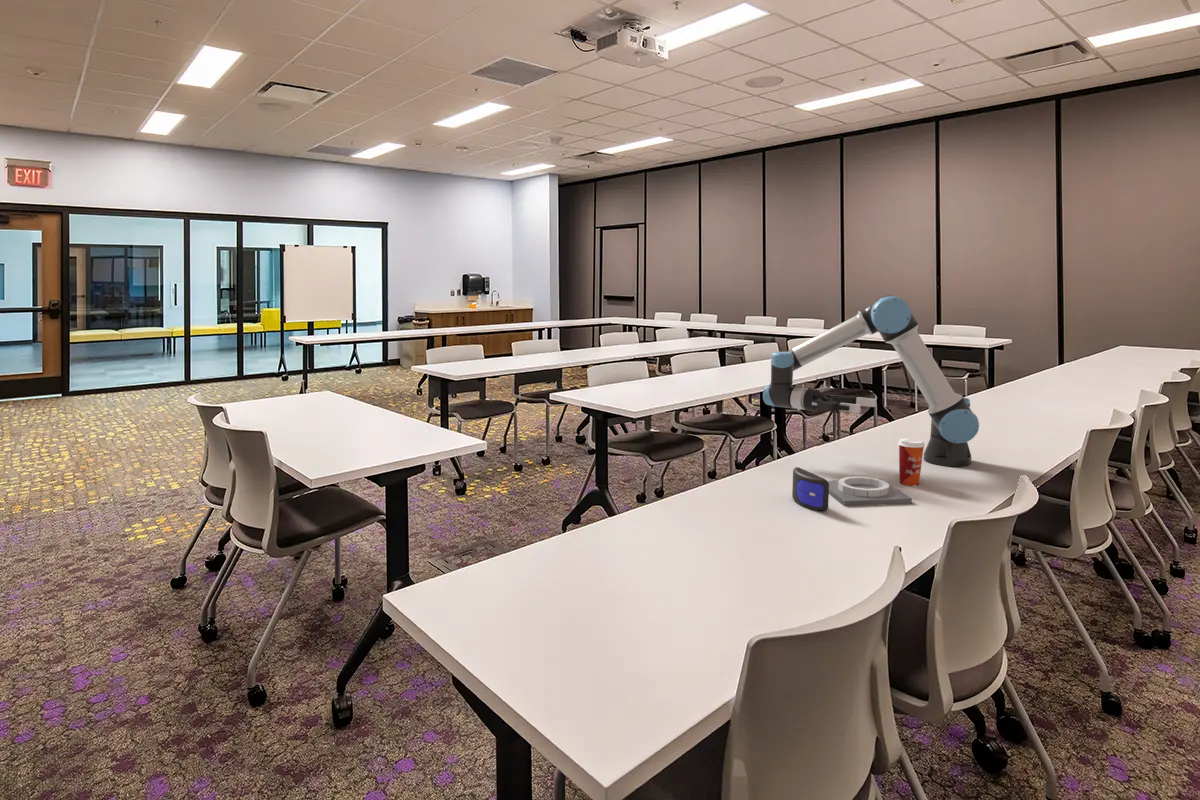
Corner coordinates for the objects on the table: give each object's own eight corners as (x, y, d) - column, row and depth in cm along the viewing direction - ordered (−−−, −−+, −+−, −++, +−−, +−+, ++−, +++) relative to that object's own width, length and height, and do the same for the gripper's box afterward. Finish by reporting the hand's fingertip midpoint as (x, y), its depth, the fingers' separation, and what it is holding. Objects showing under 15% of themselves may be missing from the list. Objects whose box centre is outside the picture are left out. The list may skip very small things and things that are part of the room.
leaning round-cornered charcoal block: (783, 497, 209) (784, 467, 208) (797, 495, 211) (798, 465, 209) (815, 514, 194) (816, 481, 192) (829, 512, 195) (830, 480, 194)
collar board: (880, 483, 221) (880, 472, 220) (911, 503, 201) (912, 491, 201) (818, 485, 220) (818, 475, 219) (844, 506, 200) (844, 494, 200)
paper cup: (911, 488, 215) (913, 444, 213) (890, 482, 222) (893, 439, 220) (928, 484, 219) (930, 441, 216) (907, 478, 226) (909, 436, 223)
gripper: (821, 404, 250) (881, 411, 236) (789, 415, 232) (852, 423, 218) (822, 384, 249) (882, 389, 235) (790, 393, 230) (853, 400, 216)
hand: (868, 406), depth 226 cm, fingers open, 13 cm apart
